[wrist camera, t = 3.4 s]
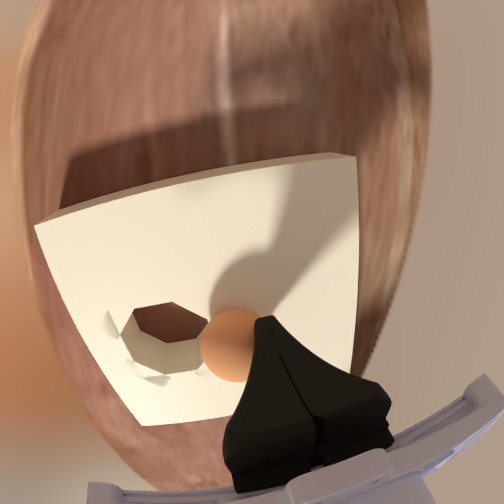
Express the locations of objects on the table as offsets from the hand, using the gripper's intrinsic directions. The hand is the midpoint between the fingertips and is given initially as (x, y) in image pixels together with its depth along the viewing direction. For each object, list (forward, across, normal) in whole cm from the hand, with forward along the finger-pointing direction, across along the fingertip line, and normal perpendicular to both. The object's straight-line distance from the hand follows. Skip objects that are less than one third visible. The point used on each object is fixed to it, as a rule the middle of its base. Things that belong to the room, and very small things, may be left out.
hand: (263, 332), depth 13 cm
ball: (0, +1, 0) cm, 1 cm away
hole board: (+5, +2, +1) cm, 5 cm away
